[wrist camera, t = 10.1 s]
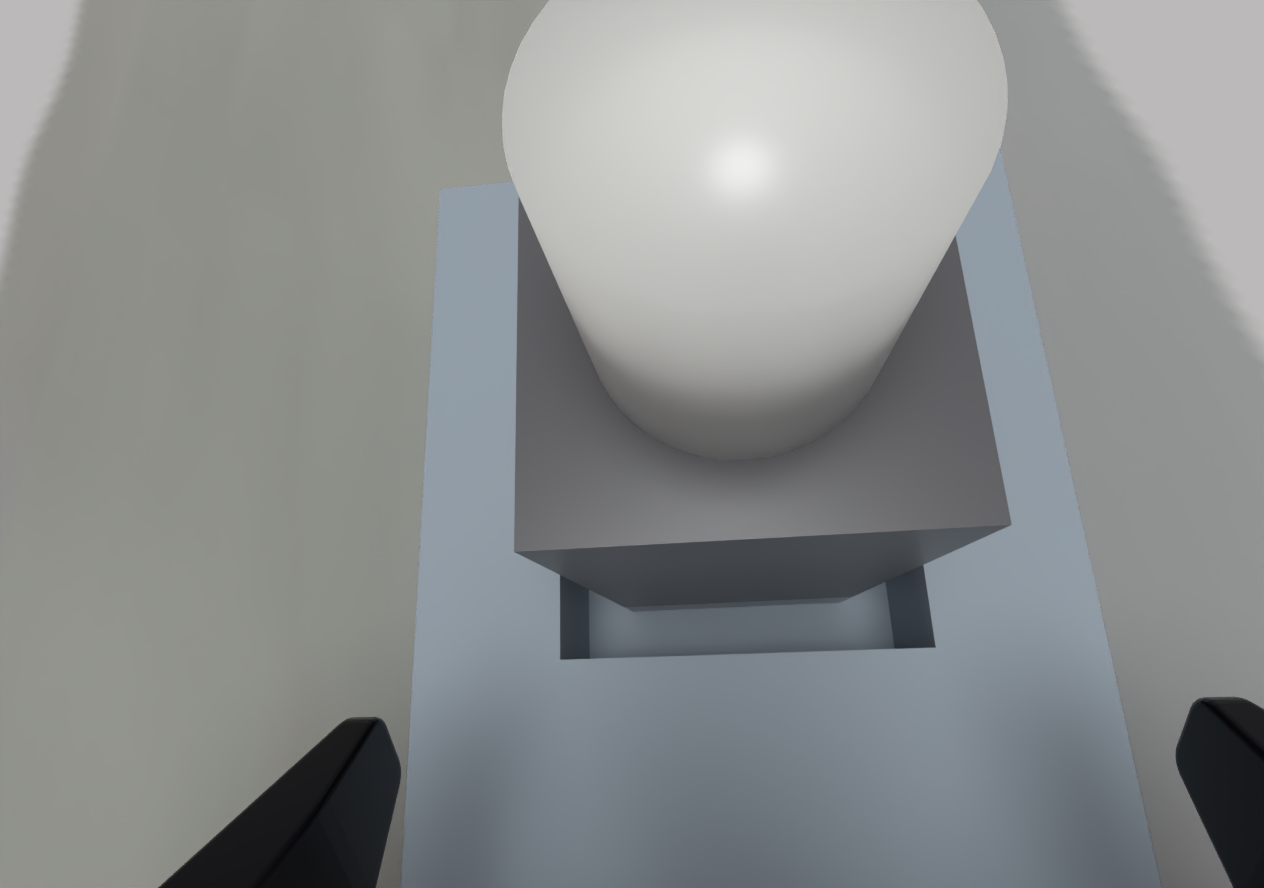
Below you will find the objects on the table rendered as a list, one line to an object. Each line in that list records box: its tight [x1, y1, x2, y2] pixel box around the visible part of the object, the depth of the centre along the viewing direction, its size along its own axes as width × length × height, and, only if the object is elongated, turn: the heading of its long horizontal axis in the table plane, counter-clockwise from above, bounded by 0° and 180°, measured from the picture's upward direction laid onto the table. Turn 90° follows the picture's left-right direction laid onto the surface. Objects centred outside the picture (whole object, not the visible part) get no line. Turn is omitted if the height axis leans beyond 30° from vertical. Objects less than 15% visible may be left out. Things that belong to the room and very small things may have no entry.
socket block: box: [401, 148, 1162, 888], centre depth 15 cm, size 14×12×4 cm
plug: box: [502, 0, 1012, 612], centre depth 10 cm, size 4×4×12 cm
